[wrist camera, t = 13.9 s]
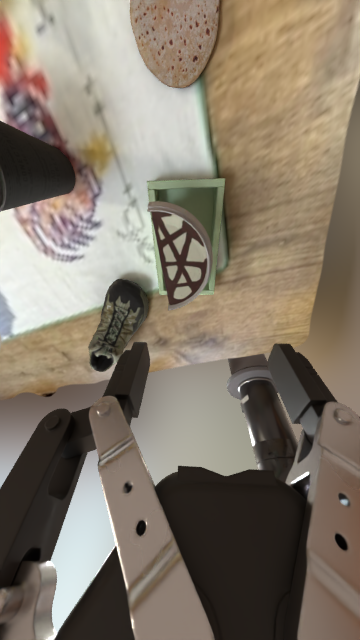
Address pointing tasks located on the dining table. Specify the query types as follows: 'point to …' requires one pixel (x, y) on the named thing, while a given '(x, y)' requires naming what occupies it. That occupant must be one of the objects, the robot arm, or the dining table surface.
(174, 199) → the holder
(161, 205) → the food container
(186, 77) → the flatbread
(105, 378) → the dining table surface
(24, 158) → the drinking cup
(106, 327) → the hiking shoe
